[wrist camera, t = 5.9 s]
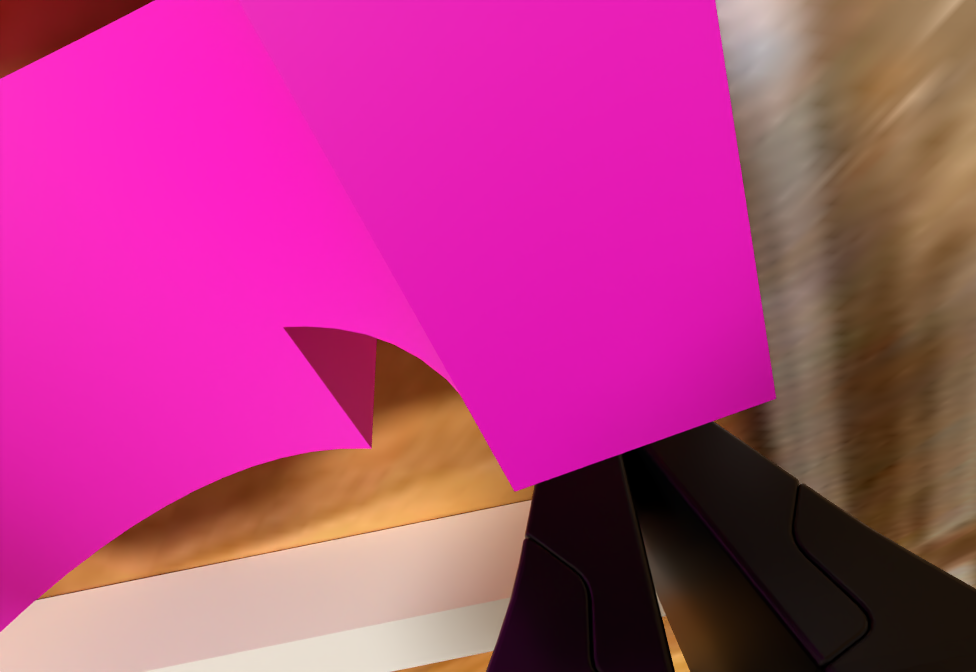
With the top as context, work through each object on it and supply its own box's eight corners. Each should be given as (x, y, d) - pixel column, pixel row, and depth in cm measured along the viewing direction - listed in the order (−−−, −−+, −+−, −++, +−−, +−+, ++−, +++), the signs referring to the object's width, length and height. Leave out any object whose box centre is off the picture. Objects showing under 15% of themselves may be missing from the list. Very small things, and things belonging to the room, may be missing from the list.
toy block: (-50, 494, 14) (-401, 963, 8) (-371, 264, 10) (-1482, 796, 4) (598, 233, 12) (804, 580, 6) (476, -152, 9) (672, -270, 2)
